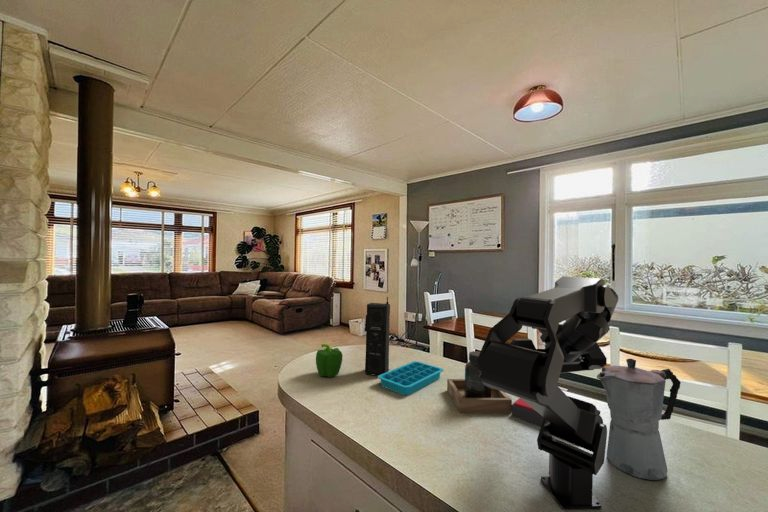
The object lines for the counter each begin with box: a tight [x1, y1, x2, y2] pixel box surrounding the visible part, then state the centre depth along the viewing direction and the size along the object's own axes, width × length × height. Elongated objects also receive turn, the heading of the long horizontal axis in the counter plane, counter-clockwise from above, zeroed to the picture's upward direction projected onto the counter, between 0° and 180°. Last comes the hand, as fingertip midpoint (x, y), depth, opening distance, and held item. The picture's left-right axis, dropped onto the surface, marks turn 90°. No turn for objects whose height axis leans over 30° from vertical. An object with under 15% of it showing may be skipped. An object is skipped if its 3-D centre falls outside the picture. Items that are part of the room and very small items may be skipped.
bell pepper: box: [315, 343, 343, 378], centre depth 100 cm, size 8×8×10 cm
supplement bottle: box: [464, 350, 491, 398], centre depth 84 cm, size 7×7×12 cm
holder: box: [446, 378, 513, 414], centre depth 84 cm, size 13×13×3 cm
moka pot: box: [596, 358, 681, 481], centre depth 59 cm, size 10×15×20 cm, turn 94°
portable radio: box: [364, 296, 391, 376], centre depth 103 cm, size 8×6×25 cm
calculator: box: [511, 397, 543, 427], centre depth 75 cm, size 11×4×15 cm
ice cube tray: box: [377, 360, 444, 396], centre depth 96 cm, size 12×20×3 cm, turn 139°
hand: (537, 372), depth 69 cm, fingers open, 9 cm apart
